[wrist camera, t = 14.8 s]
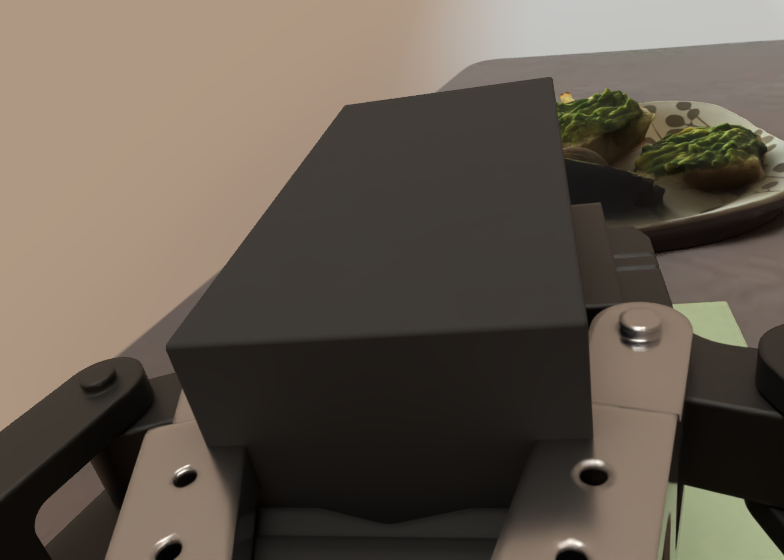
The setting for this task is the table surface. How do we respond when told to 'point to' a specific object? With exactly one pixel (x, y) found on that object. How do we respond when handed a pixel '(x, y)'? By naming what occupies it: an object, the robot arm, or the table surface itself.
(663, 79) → the table surface
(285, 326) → the tall dark upright box
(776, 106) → the table surface
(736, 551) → the dock mat
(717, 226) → the salad plate
